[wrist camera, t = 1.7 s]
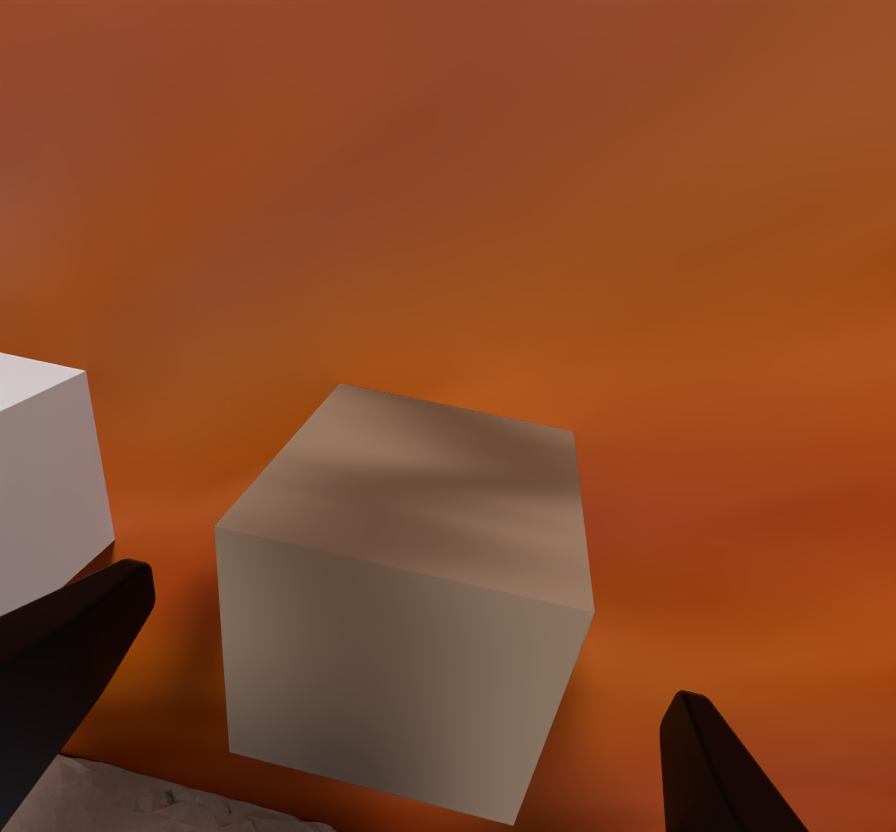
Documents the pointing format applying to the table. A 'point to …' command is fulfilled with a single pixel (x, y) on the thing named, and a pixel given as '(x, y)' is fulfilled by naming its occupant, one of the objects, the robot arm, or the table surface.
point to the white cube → (47, 480)
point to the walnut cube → (406, 600)
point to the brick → (137, 805)
